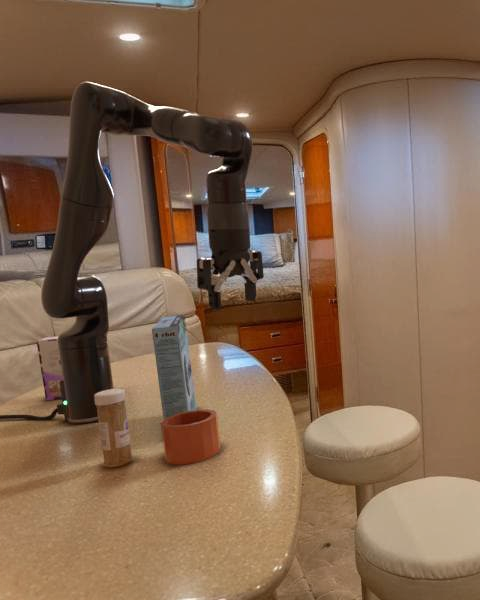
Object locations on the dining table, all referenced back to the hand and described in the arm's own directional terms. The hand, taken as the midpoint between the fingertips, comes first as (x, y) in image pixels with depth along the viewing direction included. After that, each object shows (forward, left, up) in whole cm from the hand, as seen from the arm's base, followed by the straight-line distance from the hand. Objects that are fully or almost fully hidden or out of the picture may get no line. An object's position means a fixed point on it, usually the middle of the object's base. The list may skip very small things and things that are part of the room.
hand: (233, 304), depth 104 cm
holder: (-4, -13, -26) cm, 29 cm away
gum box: (-17, +3, -27) cm, 32 cm away
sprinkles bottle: (-16, -17, -27) cm, 35 cm away
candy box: (-62, +25, -27) cm, 72 cm away
